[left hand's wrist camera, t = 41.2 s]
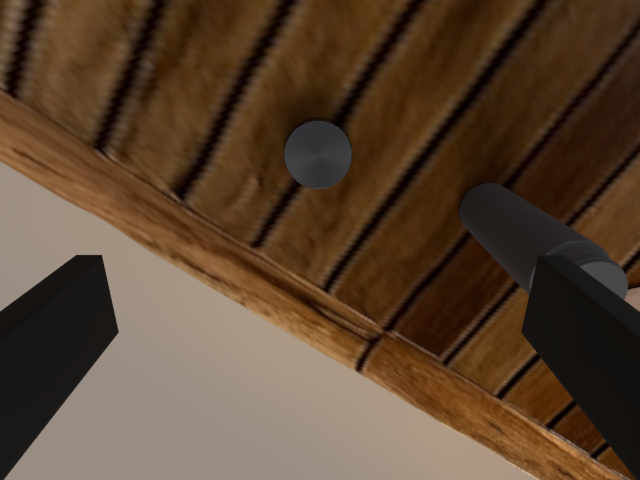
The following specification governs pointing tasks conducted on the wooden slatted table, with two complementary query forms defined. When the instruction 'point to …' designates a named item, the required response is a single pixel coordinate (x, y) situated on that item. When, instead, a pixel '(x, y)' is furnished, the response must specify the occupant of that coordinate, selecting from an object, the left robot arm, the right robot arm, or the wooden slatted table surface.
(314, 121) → the lid
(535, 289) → the left robot arm
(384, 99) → the wooden slatted table surface
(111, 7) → the wooden slatted table surface
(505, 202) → the jar
